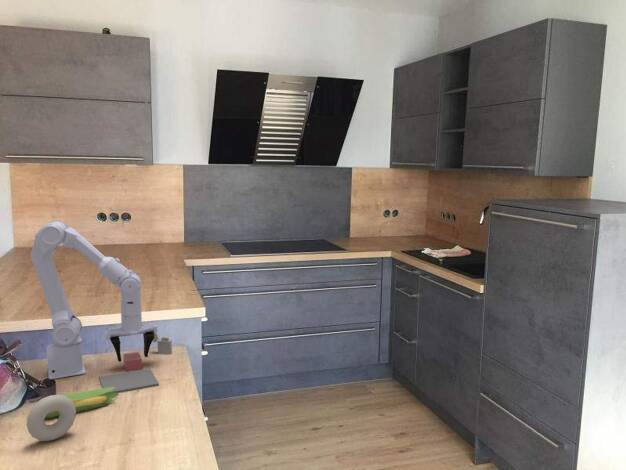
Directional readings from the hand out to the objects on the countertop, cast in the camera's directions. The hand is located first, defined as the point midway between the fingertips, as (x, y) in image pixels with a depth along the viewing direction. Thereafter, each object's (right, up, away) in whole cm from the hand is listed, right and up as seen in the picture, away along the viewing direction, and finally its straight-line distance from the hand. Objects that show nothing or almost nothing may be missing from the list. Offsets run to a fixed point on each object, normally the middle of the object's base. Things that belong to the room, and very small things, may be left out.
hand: (132, 358), depth 154 cm
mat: (+3, -4, -11) cm, 12 cm away
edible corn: (-4, -7, -27) cm, 28 cm away
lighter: (+5, -1, +12) cm, 13 cm away
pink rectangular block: (0, -3, 0) cm, 3 cm away
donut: (-3, -8, -41) cm, 42 cm away
